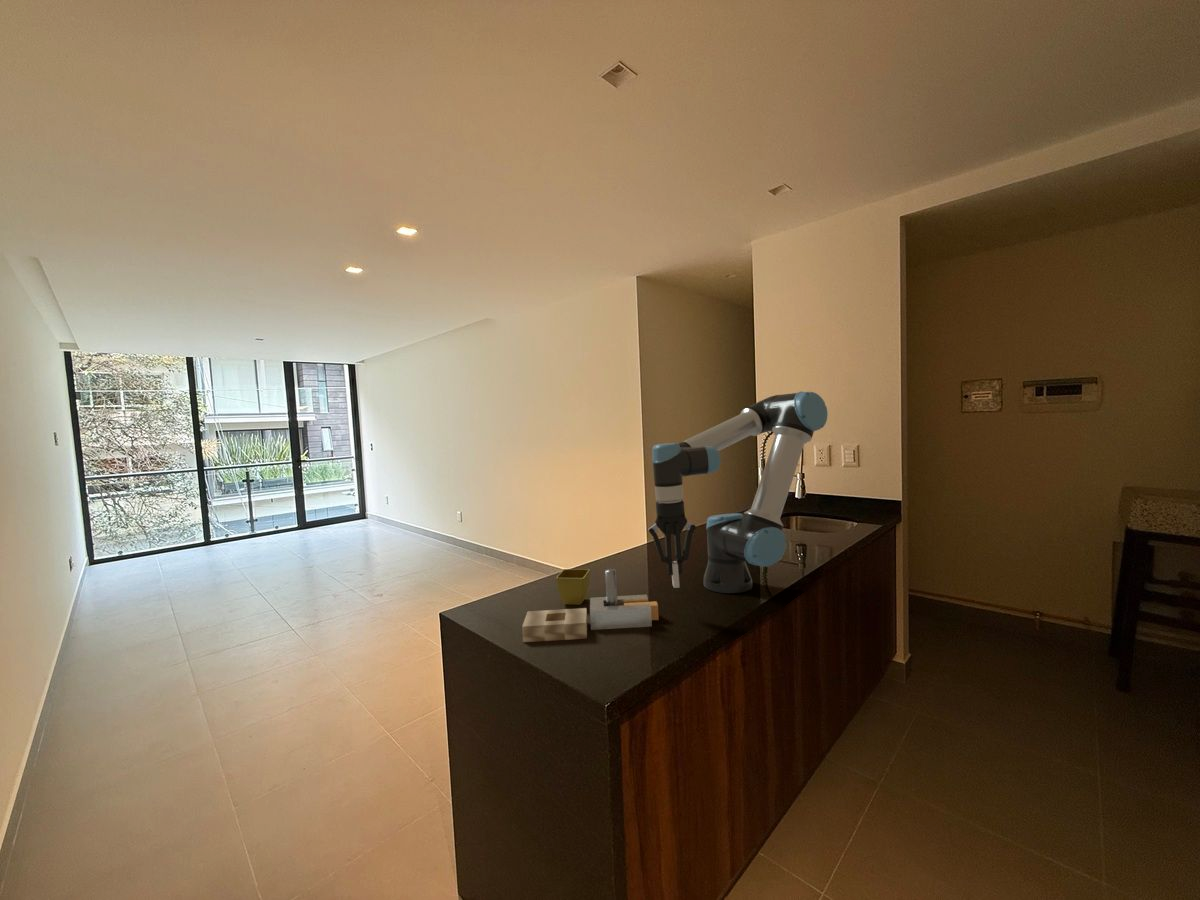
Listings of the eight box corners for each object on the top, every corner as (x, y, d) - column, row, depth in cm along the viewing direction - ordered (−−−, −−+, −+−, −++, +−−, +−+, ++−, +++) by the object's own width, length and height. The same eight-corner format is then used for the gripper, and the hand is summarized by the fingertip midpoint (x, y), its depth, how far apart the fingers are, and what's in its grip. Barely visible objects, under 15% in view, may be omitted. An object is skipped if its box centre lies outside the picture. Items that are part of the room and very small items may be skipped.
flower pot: (585, 608, 140) (583, 577, 140) (556, 607, 142) (555, 577, 142) (591, 597, 149) (590, 569, 148) (564, 596, 150) (563, 568, 150)
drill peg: (618, 618, 131) (615, 568, 130) (618, 622, 128) (616, 571, 127) (607, 619, 131) (604, 569, 130) (607, 623, 128) (604, 572, 127)
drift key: (657, 615, 131) (656, 601, 131) (658, 619, 128) (657, 605, 128) (624, 617, 131) (623, 603, 131) (625, 621, 128) (624, 607, 128)
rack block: (587, 622, 129) (586, 608, 129) (586, 638, 119) (586, 622, 119) (528, 625, 129) (527, 611, 129) (523, 642, 119) (522, 626, 119)
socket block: (647, 611, 135) (646, 594, 134) (651, 626, 125) (650, 607, 124) (591, 615, 134) (590, 597, 134) (590, 629, 124) (589, 611, 124)
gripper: (690, 496, 132) (696, 579, 133) (644, 500, 132) (650, 583, 133) (696, 500, 125) (702, 588, 126) (647, 504, 125) (654, 593, 126)
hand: (676, 586), depth 130 cm, fingers closed
